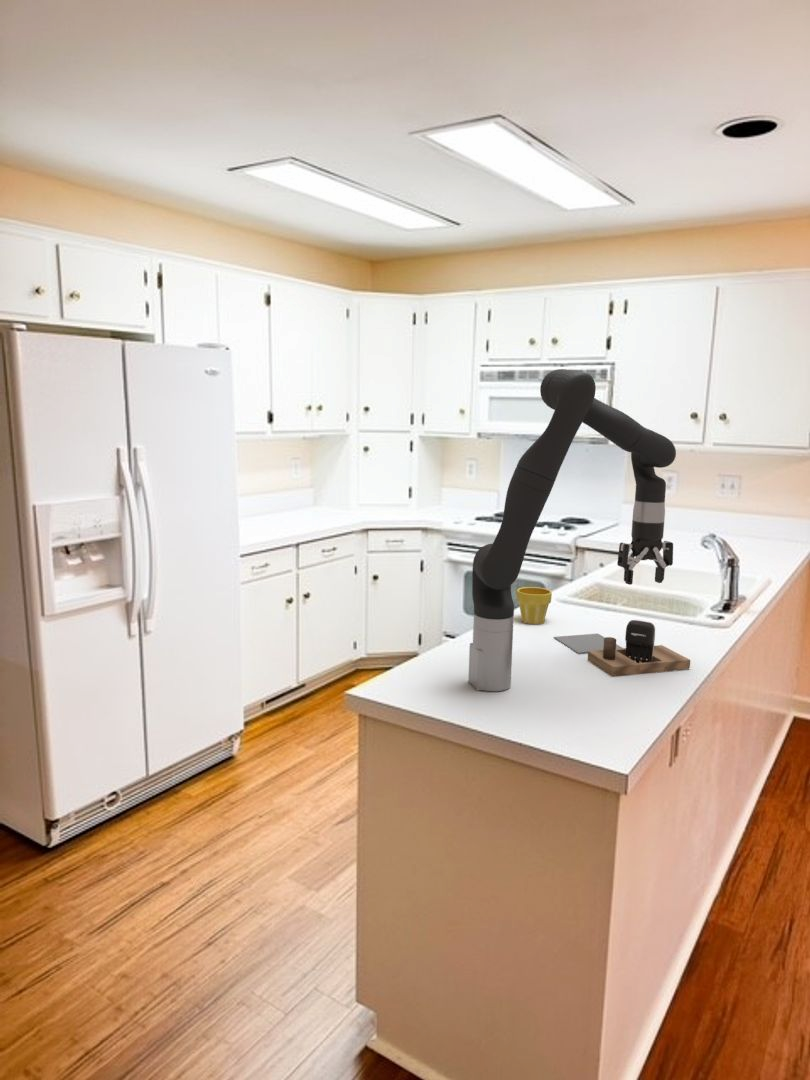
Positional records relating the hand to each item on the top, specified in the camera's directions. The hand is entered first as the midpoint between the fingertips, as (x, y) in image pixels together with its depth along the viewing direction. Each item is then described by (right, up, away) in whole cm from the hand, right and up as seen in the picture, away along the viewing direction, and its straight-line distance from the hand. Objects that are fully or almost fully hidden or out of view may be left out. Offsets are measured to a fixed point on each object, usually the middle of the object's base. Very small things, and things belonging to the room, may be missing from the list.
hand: (643, 583), depth 184 cm
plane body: (0, -21, +4) cm, 22 cm away
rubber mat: (-9, -18, +20) cm, 28 cm away
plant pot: (-21, -14, +41) cm, 48 cm away
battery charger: (0, -21, +4) cm, 22 cm away
